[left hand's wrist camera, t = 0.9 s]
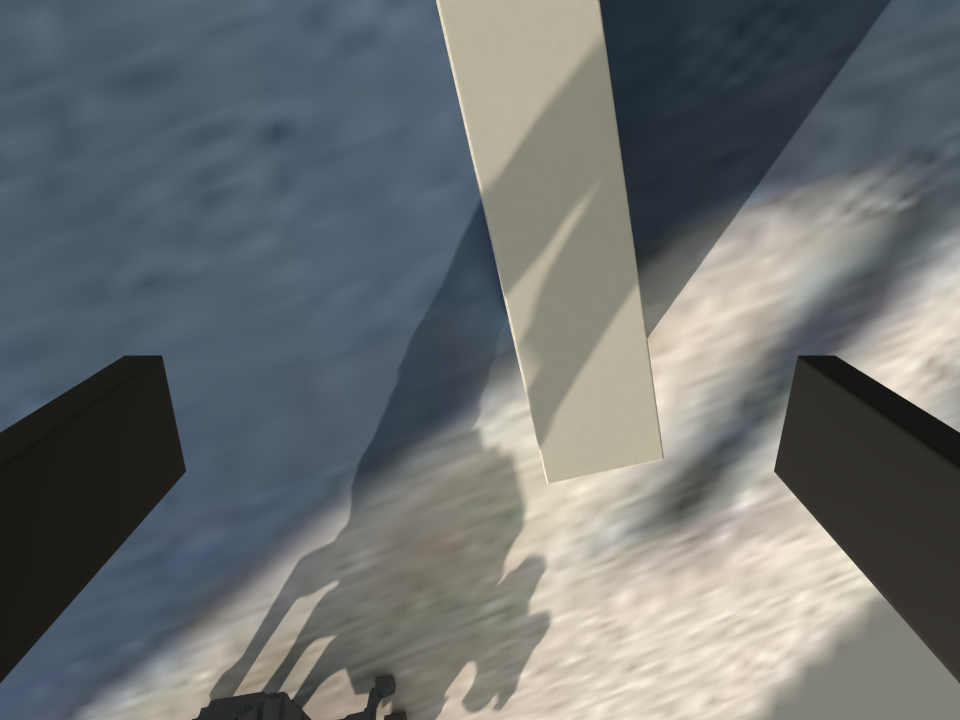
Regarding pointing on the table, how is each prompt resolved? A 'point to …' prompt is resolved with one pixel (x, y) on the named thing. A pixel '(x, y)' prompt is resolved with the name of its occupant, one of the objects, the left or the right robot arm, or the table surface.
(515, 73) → the bar
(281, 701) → the toy
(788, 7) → the table surface
